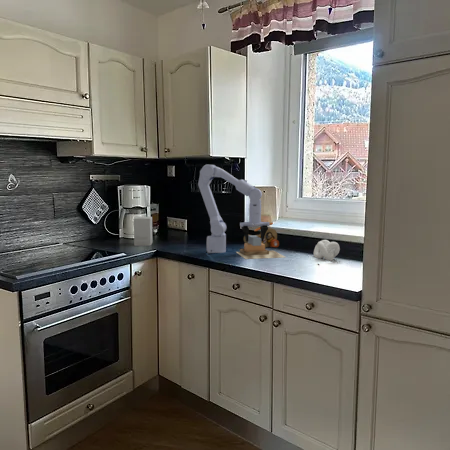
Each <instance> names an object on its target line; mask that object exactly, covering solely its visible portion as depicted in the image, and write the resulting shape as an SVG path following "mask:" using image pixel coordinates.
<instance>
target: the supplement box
mask: <svg viewBox="0 0 450 450" xmlns="http://www.w3.org/2000/svg"><path fill="white" fill-rule="evenodd" d="M133 243H134V244H133V245H134V247H138V246H139V247H143V246H144V247H147V246H149V247H150V246H151V245H152V244H153V216H136V217H134V218H133Z"/></svg>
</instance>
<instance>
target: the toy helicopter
mask: <svg viewBox="0 0 450 450" xmlns="http://www.w3.org/2000/svg"><path fill="white" fill-rule="evenodd" d="M273 224H274V222H270V226H271V225H273ZM260 227H261V226H258V227H257V228H255V229H253V231H254V232H258V231H261V229H260ZM255 235H256V236H258V237H260V238H261V232H259V234H255ZM248 236H252V234H248ZM243 242H244V243H248V242H246V239H245V235H244V236H243ZM261 243H263V244H265V248H279V246H280V241H279V240H278V232H277V230H276V229H274V228H271V227H268V230H267V232H266V234H265V236H264V240H263V241H261Z"/></svg>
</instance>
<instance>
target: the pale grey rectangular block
mask: <svg viewBox="0 0 450 450" xmlns="http://www.w3.org/2000/svg"><path fill="white" fill-rule="evenodd" d="M251 235H252V234H251ZM256 235H257V234H255V235H252V236H248V243H249V244H251V245H253V246H261V238H260V237H258V236H256Z"/></svg>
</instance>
